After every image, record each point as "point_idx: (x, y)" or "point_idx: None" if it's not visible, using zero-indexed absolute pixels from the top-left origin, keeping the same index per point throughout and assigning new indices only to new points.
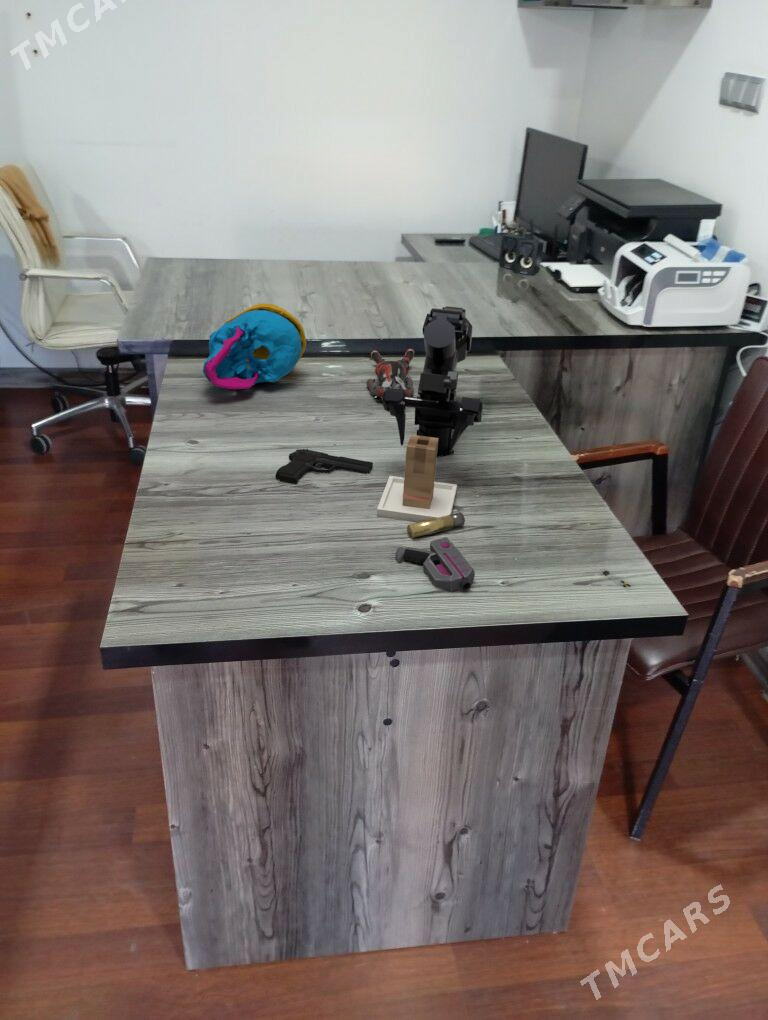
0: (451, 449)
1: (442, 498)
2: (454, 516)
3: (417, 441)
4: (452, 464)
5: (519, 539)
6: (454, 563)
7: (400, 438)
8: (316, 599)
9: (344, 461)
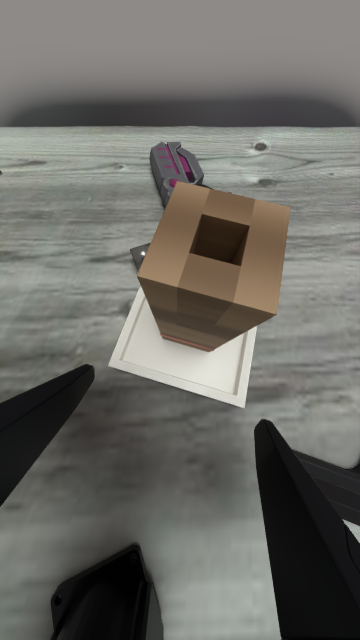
0: (86, 364)
1: (147, 330)
2: (145, 245)
3: (242, 255)
4: (83, 506)
5: (66, 232)
6: (170, 159)
7: (282, 439)
8: (305, 157)
9: (355, 491)
